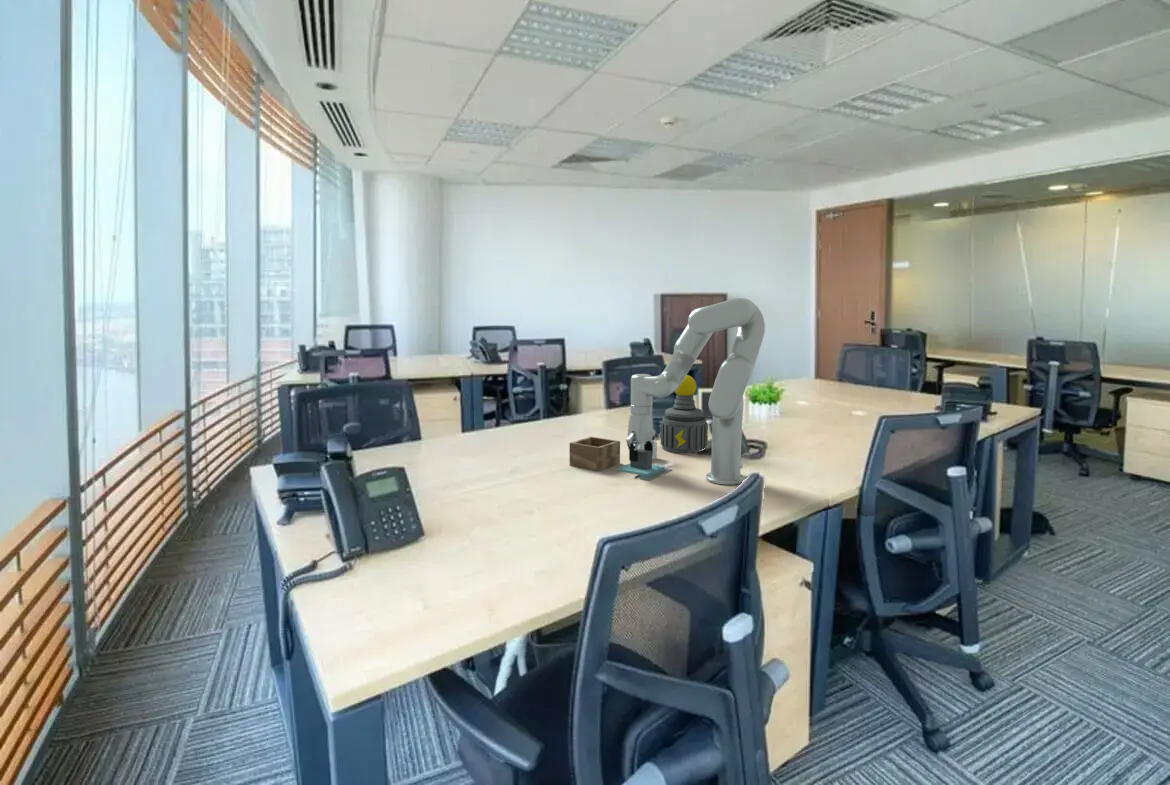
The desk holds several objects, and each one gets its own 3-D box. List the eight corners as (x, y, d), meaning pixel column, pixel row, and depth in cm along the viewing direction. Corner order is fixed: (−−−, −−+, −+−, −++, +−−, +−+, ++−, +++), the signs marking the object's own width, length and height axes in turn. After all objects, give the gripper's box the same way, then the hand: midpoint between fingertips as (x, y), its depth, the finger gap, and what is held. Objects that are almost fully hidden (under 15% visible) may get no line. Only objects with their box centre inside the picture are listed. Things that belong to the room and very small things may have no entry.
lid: (635, 464, 226) (635, 445, 224) (664, 469, 218) (664, 449, 217) (617, 471, 216) (617, 451, 215) (646, 477, 209) (647, 456, 208)
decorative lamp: (656, 452, 244) (657, 376, 240) (664, 442, 262) (665, 371, 258) (704, 455, 239) (706, 378, 234) (709, 444, 257) (711, 372, 252)
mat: (633, 463, 228) (633, 462, 228) (672, 470, 219) (672, 469, 219) (609, 472, 216) (609, 472, 216) (648, 480, 206) (648, 479, 206)
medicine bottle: (656, 460, 232) (657, 429, 230) (639, 462, 229) (639, 430, 228) (648, 456, 238) (648, 425, 237) (631, 458, 236) (631, 427, 234)
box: (591, 459, 233) (591, 436, 232) (619, 465, 225) (620, 441, 224) (569, 467, 223) (569, 443, 222) (599, 473, 215) (599, 448, 214)
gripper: (645, 405, 223) (644, 451, 226) (618, 412, 209) (618, 461, 212) (663, 407, 219) (662, 454, 221) (637, 414, 205) (637, 465, 207)
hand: (641, 458), depth 217 cm, fingers open, 9 cm apart
